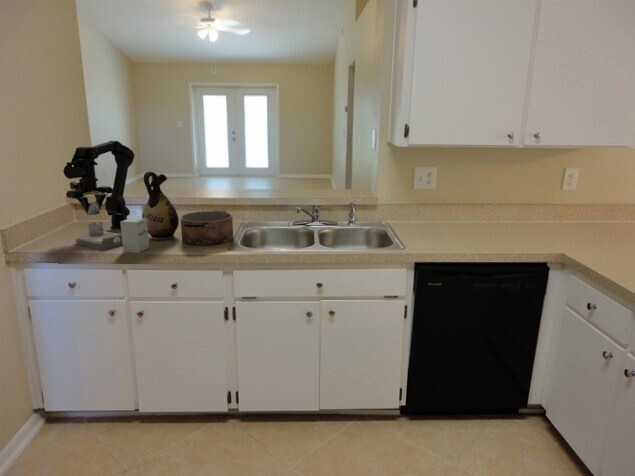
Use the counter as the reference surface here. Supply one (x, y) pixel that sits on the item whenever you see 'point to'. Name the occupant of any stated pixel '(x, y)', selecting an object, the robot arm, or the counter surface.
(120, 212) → the robot arm
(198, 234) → the cooking pot
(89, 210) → the steel spacer
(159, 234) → the ceramic jug
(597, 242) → the counter surface
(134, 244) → the supplement box
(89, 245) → the kitchen scale
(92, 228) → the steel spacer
